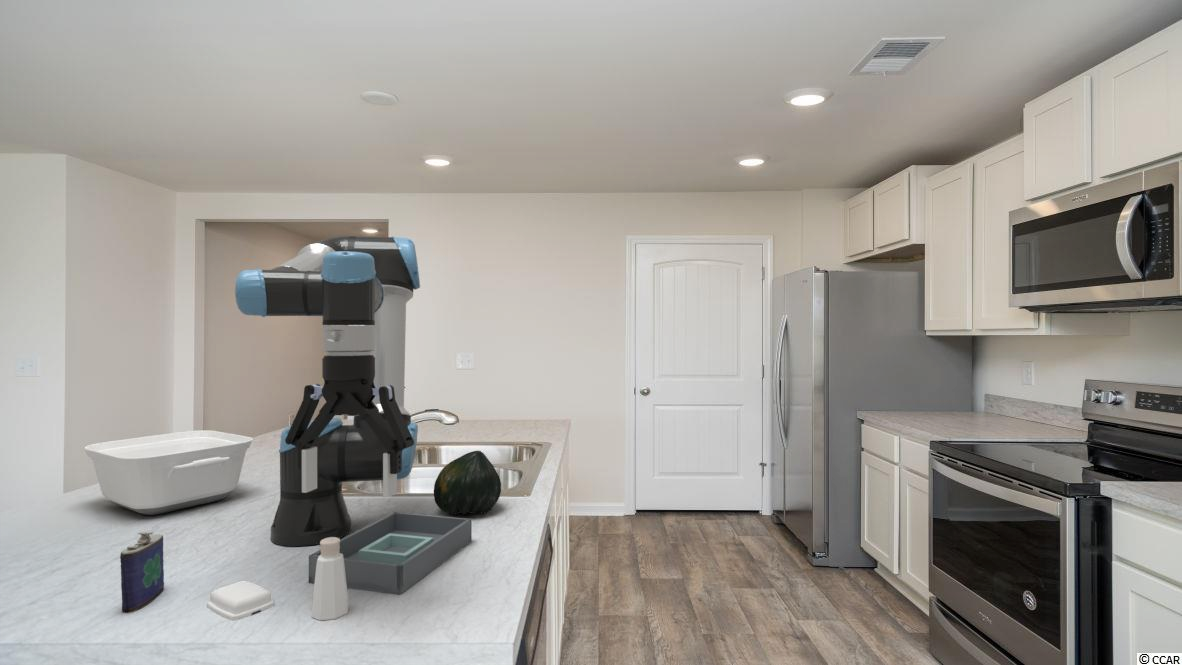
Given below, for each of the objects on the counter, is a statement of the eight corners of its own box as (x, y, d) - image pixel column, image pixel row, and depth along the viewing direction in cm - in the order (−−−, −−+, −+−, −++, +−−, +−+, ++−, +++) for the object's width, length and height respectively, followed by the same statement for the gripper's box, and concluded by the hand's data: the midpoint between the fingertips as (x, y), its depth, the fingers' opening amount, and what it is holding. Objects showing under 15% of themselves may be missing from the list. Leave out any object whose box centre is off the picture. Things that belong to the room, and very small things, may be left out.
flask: (151, 588, 102) (150, 522, 102) (170, 587, 103) (170, 522, 103) (116, 614, 93) (116, 542, 93) (138, 612, 94) (137, 541, 94)
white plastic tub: (269, 500, 154) (269, 440, 154) (136, 532, 130) (135, 461, 130) (199, 481, 172) (199, 427, 172) (71, 506, 148) (70, 444, 148)
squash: (420, 484, 148) (440, 443, 140) (476, 477, 157) (498, 438, 149) (438, 536, 139) (460, 495, 132) (496, 525, 149) (521, 487, 141)
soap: (203, 608, 96) (203, 589, 96) (248, 593, 101) (248, 575, 101) (232, 624, 91) (232, 604, 91) (278, 607, 96) (278, 588, 96)
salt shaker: (306, 611, 94) (306, 538, 94) (343, 601, 98) (343, 531, 97) (315, 624, 90) (315, 548, 90) (354, 614, 93) (354, 540, 93)
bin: (308, 582, 105) (308, 555, 105) (394, 533, 129) (394, 512, 129) (400, 594, 100) (400, 566, 100) (471, 541, 125) (471, 518, 125)
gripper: (259, 354, 94) (260, 494, 94) (412, 355, 89) (413, 503, 89) (292, 352, 102) (293, 482, 102) (436, 353, 97) (436, 490, 97)
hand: (349, 493), depth 96 cm, fingers open, 13 cm apart
